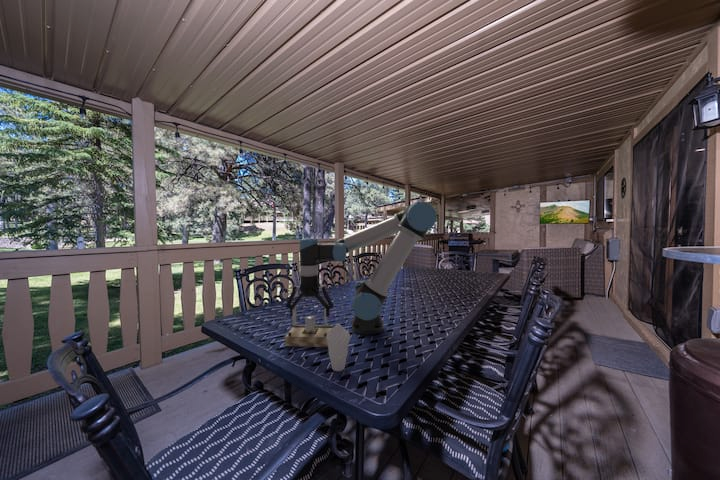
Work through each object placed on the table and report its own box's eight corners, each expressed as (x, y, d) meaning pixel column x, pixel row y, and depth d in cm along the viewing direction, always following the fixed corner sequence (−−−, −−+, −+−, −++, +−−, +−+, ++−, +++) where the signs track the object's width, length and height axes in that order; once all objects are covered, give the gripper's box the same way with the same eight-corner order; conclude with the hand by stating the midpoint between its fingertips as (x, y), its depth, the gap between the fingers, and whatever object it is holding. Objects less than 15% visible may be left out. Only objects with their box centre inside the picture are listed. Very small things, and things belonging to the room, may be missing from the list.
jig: (333, 334, 122) (333, 324, 121) (328, 347, 110) (328, 334, 109) (294, 334, 123) (294, 323, 123) (285, 346, 111) (284, 334, 111)
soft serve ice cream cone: (326, 362, 97) (326, 319, 96) (349, 361, 98) (349, 318, 97) (325, 375, 89) (325, 327, 88) (351, 374, 90) (350, 326, 89)
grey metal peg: (317, 338, 118) (316, 315, 118) (314, 342, 114) (314, 319, 113) (307, 338, 119) (306, 315, 118) (304, 342, 114) (304, 319, 114)
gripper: (339, 273, 117) (340, 321, 119) (283, 272, 119) (284, 320, 120) (337, 276, 110) (337, 327, 111) (277, 276, 112) (278, 326, 113)
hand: (310, 323), depth 116 cm, fingers open, 13 cm apart
